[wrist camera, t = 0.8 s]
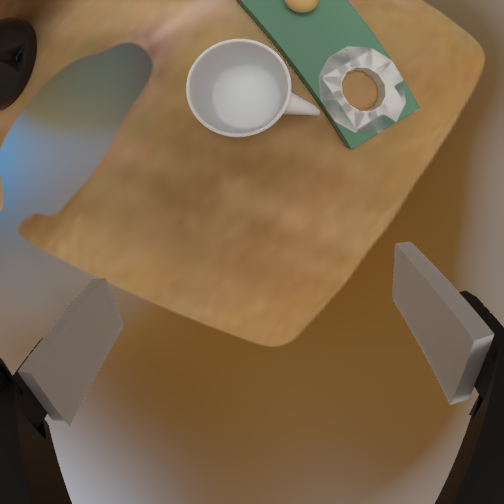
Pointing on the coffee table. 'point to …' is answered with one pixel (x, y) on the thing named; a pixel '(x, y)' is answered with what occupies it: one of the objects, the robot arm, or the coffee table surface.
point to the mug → (242, 88)
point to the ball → (302, 5)
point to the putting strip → (336, 62)
